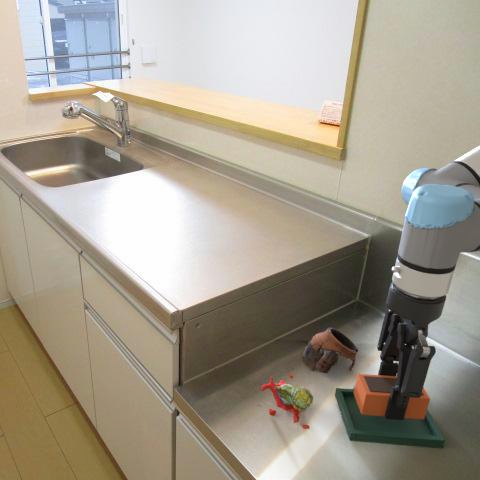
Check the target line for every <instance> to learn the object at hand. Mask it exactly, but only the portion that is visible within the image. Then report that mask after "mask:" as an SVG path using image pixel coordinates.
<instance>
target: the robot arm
mask: <svg viewBox="0 0 480 480" xmlns="http://www.w3.org/2000/svg"><path fill="white" fill-rule="evenodd" d="M401 197H402V198H401V199H402V200H403V202H404V203H405V204H406V205H407V209H406V211H405V214H404V222H403V227H402V230H401V237H400V240H399V241H400V242H399V245H398V251H397V254H396V255H397V256H396V260H395V265H394V266H392V267H391V272H392V277H391V281H392V282H391V283H390V285H389V287H388V288H389V289H388V294H387V298H386V301H385V311H384V313H385V314H384V315H383V321H382V325H381V328H380V329H381V330H380V334H379V338H378V342H377V346H376V349H377V351H378V352H380V354H379V359H380V364H379V367H378V373H377V375H383V376H397V379H396V385H392V386H391V393H390V397H389V401H388V405H387V409H386V413H385V417H386V419H394V420H404V416H405V413H406V409H407V406H408V402H409V398H410V397H413V398H420V397H421V393H422V390H423V387H424V385H425V382H426V379H427V375H428V372H429V368H430V364H431V361H432V359H433V358H434V356H435V355H436V352H437V350H436V349H437V348H436V346H435V345H429V344H428V341H427V338H428V335H429V325H430V324H432V322H435V321H437V320H438V319H440V317H441V316H442V315H443V311H444V307H445V304H446V301H447V295H448V293H449V291H450V287H451V284H452V280H453V277H454V273H455V270H456V268H457V267H456V266H457V263H458V261H459V258H460V255H461V253H474V252H475V253H476V252H477V253H478V252H480V145H478V146H476V147H475V148H473V149H472V150H470V151H468V152H466V153H465V154H463V155H461V156H460V157H458V158H456V159H455V160H453V161H451V162H450V163H448V164H445V165H444V166H443V167H441V168H439V169H437V168H433V167H421V168H418V169H415V170H413V171H412V172H410V174H409V175H408V176H406V178H405V180H404V181H403V183H402V186H401Z"/></svg>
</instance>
